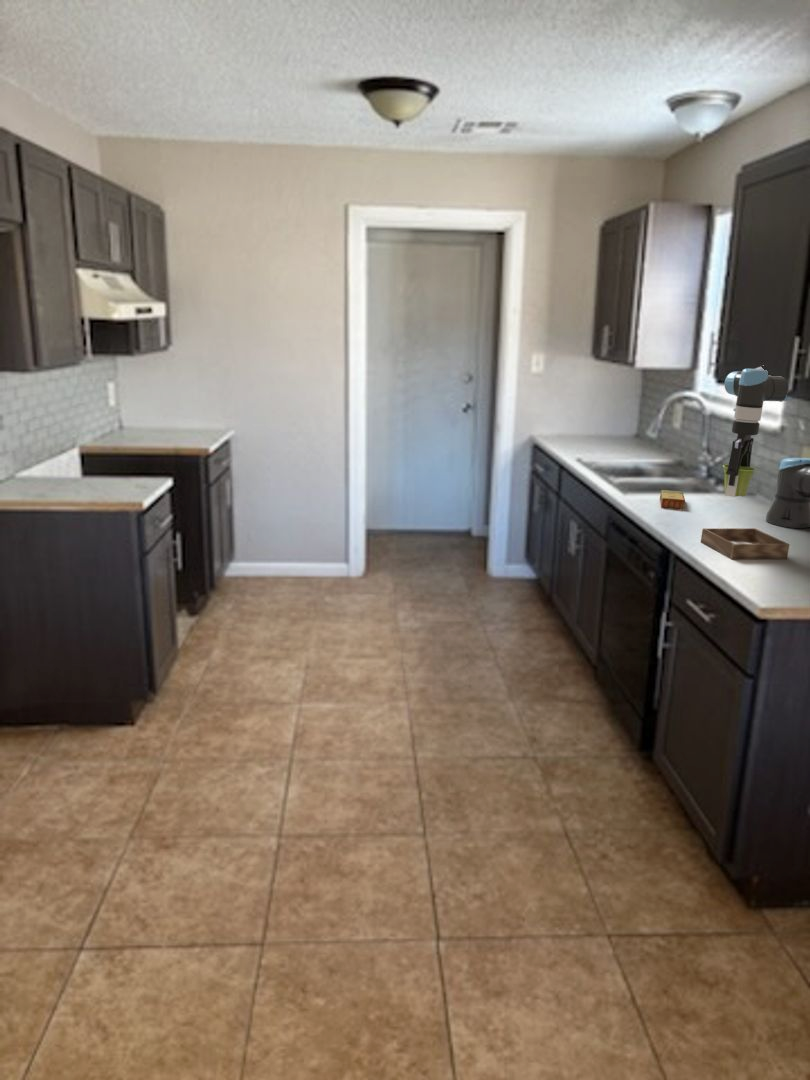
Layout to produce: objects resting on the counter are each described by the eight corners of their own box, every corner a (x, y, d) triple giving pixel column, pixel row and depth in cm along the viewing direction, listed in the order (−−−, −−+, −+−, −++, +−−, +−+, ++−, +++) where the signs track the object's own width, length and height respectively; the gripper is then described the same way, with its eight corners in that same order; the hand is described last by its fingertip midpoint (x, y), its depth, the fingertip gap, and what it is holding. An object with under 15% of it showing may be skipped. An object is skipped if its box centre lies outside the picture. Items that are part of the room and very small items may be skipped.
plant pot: (721, 490, 263) (725, 463, 260) (753, 494, 258) (757, 467, 256) (715, 494, 255) (720, 467, 253) (748, 499, 250) (752, 471, 248)
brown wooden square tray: (752, 541, 263) (755, 528, 262) (787, 558, 246) (789, 544, 244) (700, 542, 260) (702, 528, 258) (731, 559, 243) (733, 544, 241)
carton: (660, 508, 304) (661, 497, 303) (659, 499, 319) (660, 488, 318) (684, 511, 302) (685, 499, 301) (681, 501, 317) (683, 490, 316)
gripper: (743, 416, 261) (732, 487, 267) (723, 421, 244) (711, 496, 250) (768, 419, 256) (756, 491, 262) (749, 424, 240) (737, 501, 246)
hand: (734, 493), depth 256 cm, fingers closed on plant pot, 8 cm apart
